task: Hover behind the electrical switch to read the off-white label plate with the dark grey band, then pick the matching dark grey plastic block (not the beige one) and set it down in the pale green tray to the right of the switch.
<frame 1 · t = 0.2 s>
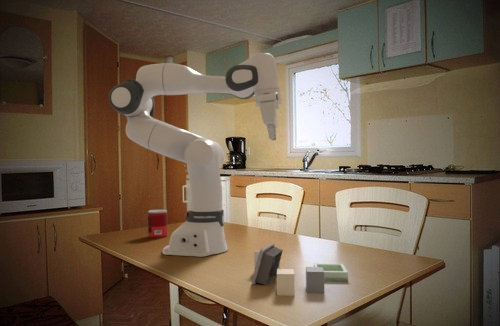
hand: (272, 139, 129), 39 cm above the table, tool pointing down, fingers open, 8 cm apart
electrical switch: (267, 281, 97), on the table
label plate: (267, 272, 104), on the table
canned food: (158, 237, 157), on the table
beige part: (285, 292, 88), on the table
grey part: (315, 290, 89), on the table
tray: (330, 275, 100), on the table
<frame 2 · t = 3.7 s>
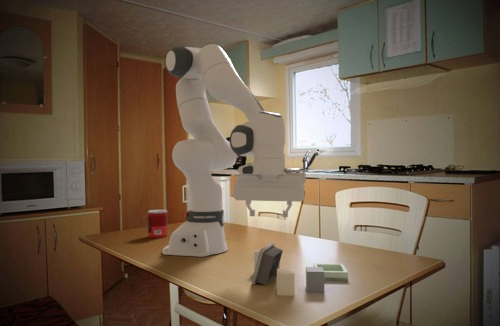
hand: (268, 216, 107), 15 cm above the table, tool pointing down, fingers open, 8 cm apart
nothing on the table moved.
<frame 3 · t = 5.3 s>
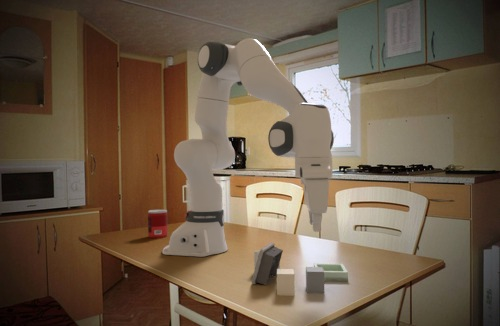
hand: (315, 227, 89), 15 cm above the table, tool pointing down, fingers open, 8 cm apart
nothing on the table moved.
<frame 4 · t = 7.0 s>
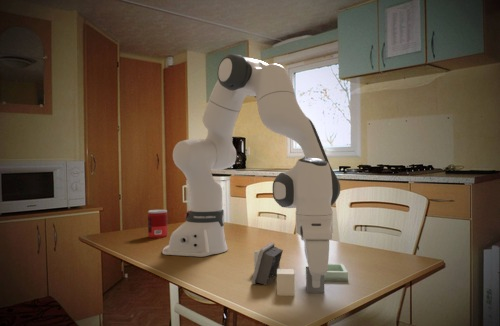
hand: (314, 282, 89), 2 cm above the table, tool pointing down, fingers closed on grey part, 4 cm apart
grey part: (315, 289, 89), on the table, touching gripper
everything else where it was.
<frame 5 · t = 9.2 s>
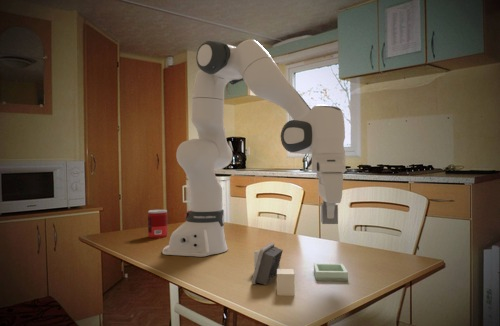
hand: (329, 216, 100), 16 cm above the table, tool pointing down, fingers closed on grey part, 4 cm apart
grey part: (329, 222, 100), point 14 cm above the table, touching gripper
everything else where it was.
when the fingers open (4 cm above the table, at t = 11.7 s): grey part drops 2 cm, resting on tray.
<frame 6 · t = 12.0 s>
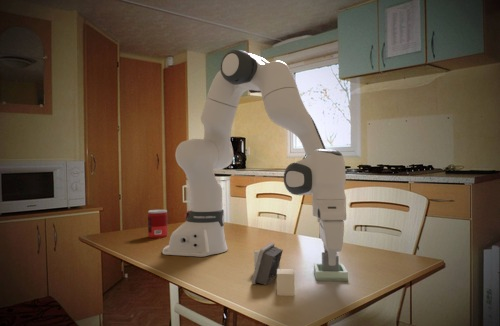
hand: (329, 260, 100), 4 cm above the table, tool pointing down, fingers open, 7 cm apart
grey part: (330, 272, 100), point 1 cm above the table, touching tray
everything else where it was.
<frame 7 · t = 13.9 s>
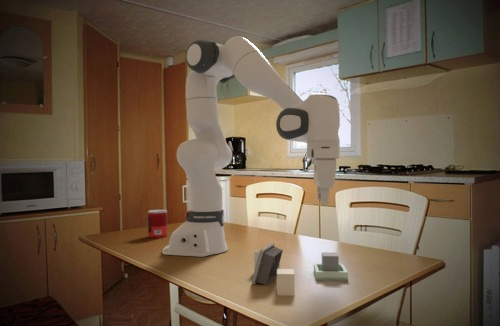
hand: (322, 202, 103), 19 cm above the table, tool pointing down, fingers open, 8 cm apart
nothing on the table moved.
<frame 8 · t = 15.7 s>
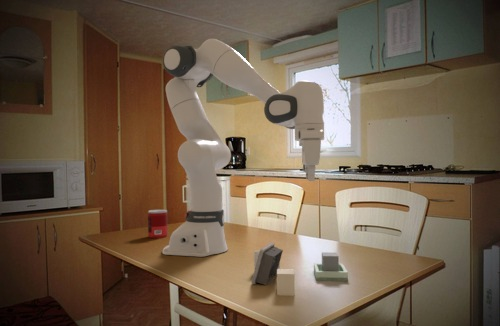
hand: (310, 180, 113), 25 cm above the table, tool pointing down, fingers open, 8 cm apart
nothing on the table moved.
at the end: grey part 0.0 cm off-centre on the tray, point 0.8 cm above the tray's base; the gripper is holding nothing; beige part moved 0.1 cm from its start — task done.
